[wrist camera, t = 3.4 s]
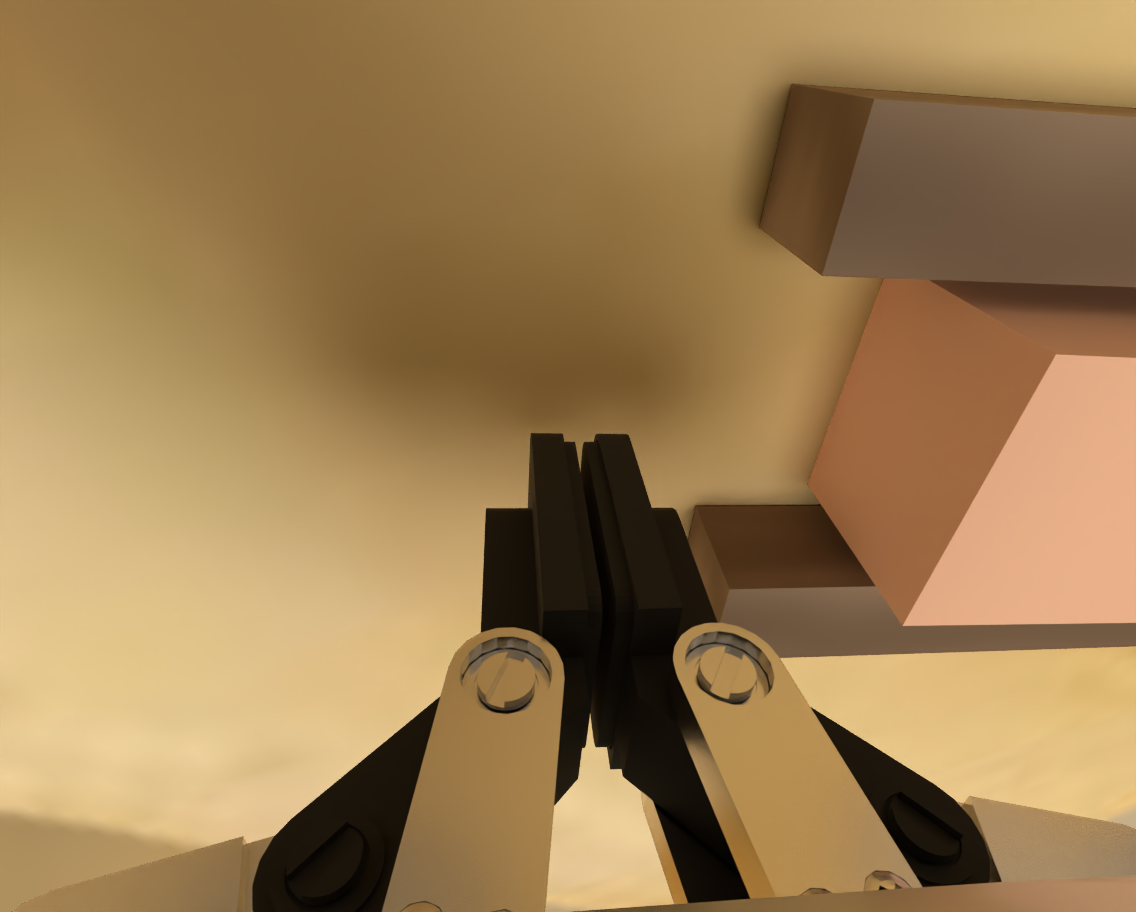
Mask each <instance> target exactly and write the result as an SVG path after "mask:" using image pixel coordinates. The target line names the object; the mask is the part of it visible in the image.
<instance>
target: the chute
mask: <svg viewBox="0 0 1136 912" xmlns="http://www.w3.org/2000/svg"><path fill="white" fill-rule="evenodd" d="M759 228H760V229H762V230H763V231H764V232H766V233H767V234H768V235H770V236H771V237H772V238H773V239H775V240H776V241H777V242H779V243H780V244H781V245H783V246H784V247H785V248H787V249H788V250H789V251H790V252H792V253H793V254H794V255H796V256H797V257H798V258H800V259H801V260H802V261H803V262H805V263H806V264H807V265H809V266H810V267H811V268H813V269H814V270H815V271H817V272H818V273H819V274H820V275H822V276H842V277H869V278H897V279H924V280H951V281H979V282H1006V283H1034V284H1061V285H1088V286H1116V287H1136V108H1124V107H1110V106H1096V105H1082V104H1068V103H1054V102H1040V101H1026V100H1011V99H997V98H983V97H969V96H955V95H941V94H927V93H913V92H899V91H884V90H870V89H856V88H842V87H828V86H814V85H800V84H792V87H791V91H790V95H789V100H788V104H787V109H786V113H785V117H784V122H783V126H782V130H781V135H780V139H779V144H778V148H777V152H776V157H775V161H774V166H773V170H772V174H771V179H770V183H769V187H768V192H767V196H766V201H765V205H764V209H763V214H762V218H761V223H760V227H759ZM688 543H689V545H690V548H691V551H692V554H693V556H694V559H695V562H696V565H697V567H698V570H699V573H700V576H701V578H702V581H703V584H704V586H705V589H706V592H707V595H708V597H709V600H710V603H711V606H712V608H713V611H714V614H715V617H716V619H717V622H718V623H725V624H730V625H734V626H739V627H741V628H743V629H745V630H747V631H749V632H752V633H754V634H755V635H757V636H758V637H759V638H761V639H762V640H763V641H765V642H766V643H767V644H769V646H770V647H771V648H772V649H773V650H774V652H775V653H776V654H777V655H778V656H779V658H791V657H821V656H852V655H883V654H914V653H944V652H975V651H1006V650H1037V649H1067V648H1098V647H1129V646H1136V623H1084V624H1008V625H933V626H902V624H901V623H900V621H899V620H898V618H897V617H896V615H895V614H894V613H893V611H892V610H891V608H890V607H889V605H888V604H887V602H886V601H885V599H884V598H883V596H882V595H881V593H880V592H879V590H878V589H877V587H876V586H875V584H874V583H873V581H872V580H871V578H870V577H869V575H868V574H867V572H866V571H865V569H864V568H863V566H862V565H861V563H860V562H859V560H858V559H857V557H856V556H855V554H854V553H853V551H852V550H851V548H850V547H849V546H848V544H847V543H846V541H845V540H844V538H843V537H842V535H841V534H840V532H839V531H838V529H837V528H836V526H835V525H834V523H833V522H832V520H831V519H830V517H829V516H828V514H827V513H826V511H825V510H824V508H823V507H822V506H696V508H695V512H694V516H693V521H692V525H691V530H690V534H689V538H688Z"/></svg>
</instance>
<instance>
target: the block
mask: <svg viewBox="0 0 1136 912" xmlns="http://www.w3.org/2000/svg"><path fill="white" fill-rule="evenodd" d="M808 486H809V487H810V489H811V490H812V492H813V493H814V495H815V496H816V498H817V499H818V501H819V502H820V504H821V505H822V507H823V508H824V510H825V511H826V513H827V514H828V516H829V517H830V519H831V520H832V522H833V523H834V525H835V526H836V528H837V529H838V531H839V532H840V534H841V535H842V537H843V538H844V540H845V541H846V543H847V544H848V546H849V547H850V548H851V550H852V551H853V553H854V554H855V556H856V557H857V559H858V560H859V562H860V563H861V565H862V566H863V568H864V569H865V571H866V572H867V574H868V575H869V577H870V578H871V580H872V581H873V583H874V584H875V586H876V587H877V589H878V590H879V592H880V593H881V595H882V596H883V598H884V599H885V601H886V602H887V604H888V605H889V607H890V608H891V610H892V611H893V613H894V614H895V615H896V617H897V618H898V620H899V621H900V623H901V624H902V626H933V625H1008V624H1084V623H1136V287H1116V286H1088V285H1061V284H1034V283H1006V282H979V281H951V280H924V279H897V278H884V279H883V281H882V284H881V287H880V289H879V292H878V295H877V297H876V300H875V303H874V306H873V308H872V311H871V314H870V316H869V319H868V322H867V324H866V327H865V330H864V333H863V335H862V338H861V341H860V343H859V346H858V349H857V352H856V354H855V357H854V360H853V362H852V365H851V368H850V370H849V373H848V376H847V379H846V381H845V384H844V387H843V389H842V392H841V395H840V397H839V400H838V403H837V406H836V408H835V411H834V414H833V416H832V419H831V422H830V424H829V427H828V430H827V433H826V435H825V438H824V441H823V443H822V446H821V449H820V452H819V454H818V457H817V460H816V462H815V465H814V468H813V470H812V473H811V476H810V479H809V481H808Z"/></svg>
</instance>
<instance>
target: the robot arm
mask: <svg viewBox="0 0 1136 912" xmlns="http://www.w3.org/2000/svg"><path fill="white" fill-rule="evenodd" d="M590 714H591V722H592V730H593V738H594V743H595V746H596V747H607V750H608V757H609V764H610V769H622V774H623V777H624V778H626V779H627V780H628V781H629V782H631V783H632V784H633V785H634V786H635V787H637V788H638V789H639V790H640V791H641V798H642V804H643V810H644V813H645V816H646V819H647V822H648V825H649V828H650V831H651V834H652V837H653V840H654V843H655V846H656V850H657V853H658V856H659V859H660V862H661V865H662V868H663V871H664V874H665V877H666V880H667V883H668V886H669V889H670V892H671V895H672V898H673V902H674V904H672V905H658V906H645V907H631V908H617V909H603V910H589V911H575V912H1136V829H1134V828H1131V827H1129V826H1126V825H1123V824H1118V823H1113V822H1107V821H1102V820H1096V819H1091V818H1085V817H1080V816H1075V815H1069V814H1064V813H1058V812H1053V811H1047V810H1042V809H1037V808H1031V807H1026V806H1020V805H1015V804H1009V803H1004V802H998V801H993V800H988V799H982V798H977V797H971V796H969V797H968V799H967V800H966V801H965V802H964V803H959V802H956V801H955V800H954V799H953V798H952V797H950V796H949V795H948V794H946V793H945V792H944V791H942V790H941V789H940V788H939V787H937V786H936V785H934V784H933V783H931V782H930V781H928V780H926V779H925V778H923V777H922V776H920V775H918V774H917V773H915V772H914V771H912V770H910V769H909V768H907V767H906V766H904V765H902V764H901V763H899V762H898V761H896V760H894V759H893V758H891V757H890V756H888V755H886V754H885V753H883V752H882V751H880V750H878V749H877V748H875V747H874V746H872V745H870V744H869V743H867V742H866V741H864V740H862V739H861V738H859V737H858V736H856V735H854V734H853V733H851V732H850V731H848V730H846V729H845V728H843V727H842V726H840V725H839V724H837V723H835V722H834V721H832V720H831V719H829V718H827V717H826V716H824V715H823V714H821V713H819V712H818V711H816V710H815V709H813V708H811V707H810V706H809V704H808V703H807V701H806V699H805V698H804V696H803V695H802V693H801V691H800V690H799V688H798V687H797V685H796V683H795V682H794V680H793V679H792V677H791V675H790V674H789V672H788V671H787V669H786V667H785V666H784V664H783V663H782V661H781V659H780V658H779V656H778V655H777V654H776V653H775V652H774V650H773V649H772V648H771V647H770V646H769V644H767V643H766V642H765V641H763V640H762V639H761V638H759V637H758V636H757V635H755V634H754V633H752V632H749V631H747V630H745V629H743V628H741V627H739V626H734V625H730V624H725V623H718V622H717V619H716V617H715V614H714V611H713V608H712V606H711V603H710V600H709V597H708V595H707V592H706V589H705V586H704V584H703V581H702V578H701V576H700V573H699V570H698V567H697V565H696V562H695V559H694V556H693V554H692V551H691V548H690V545H689V543H688V540H687V537H686V535H685V532H684V529H683V526H682V524H681V521H680V518H679V516H678V514H677V512H676V510H675V509H673V508H651V504H650V501H649V498H648V495H647V492H646V488H645V485H644V482H643V479H642V476H641V473H640V469H639V466H638V463H637V460H636V457H635V453H634V450H633V447H632V444H631V441H630V438H629V435H627V434H596V435H595V439H594V442H584V444H583V450H582V461H581V472H580V468H579V462H578V456H577V450H576V445H575V442H564V438H563V434H553V433H531V438H530V463H529V493H528V508H486V522H485V546H484V570H483V594H482V618H481V633H479V634H478V635H476V636H474V637H472V638H471V639H469V640H467V641H466V642H465V643H464V644H463V645H462V646H461V647H460V648H459V649H458V650H457V651H456V653H455V654H454V656H453V659H452V661H451V663H450V665H449V667H448V671H447V674H446V678H445V682H444V685H443V689H442V693H441V696H440V697H439V698H438V699H437V700H435V701H434V702H433V703H432V704H430V705H429V706H428V707H427V708H426V709H424V710H423V711H422V712H421V713H420V714H418V715H417V716H416V717H415V718H413V719H412V720H411V721H410V722H409V723H407V724H406V725H405V726H404V727H403V728H401V729H400V730H399V731H398V732H396V733H395V734H394V735H393V736H392V737H390V738H389V739H388V740H387V741H386V742H384V743H383V744H382V745H381V746H379V747H378V748H377V749H376V750H375V751H373V752H372V753H371V754H370V755H368V756H367V757H366V758H365V759H364V760H362V761H361V762H360V763H359V764H358V765H356V766H355V767H354V768H353V769H351V770H350V771H349V772H348V773H347V774H345V775H344V776H343V777H342V778H341V779H339V780H338V781H337V782H336V783H334V784H333V785H332V786H331V787H330V788H328V789H327V790H326V791H325V792H324V793H322V794H321V795H320V796H319V797H317V798H316V799H315V800H314V801H313V802H311V803H310V804H309V805H308V806H307V807H305V808H304V809H303V810H302V811H300V812H299V813H298V814H297V815H296V816H294V817H293V818H292V819H291V820H290V821H289V822H288V823H287V824H286V825H285V826H284V827H283V828H282V829H281V830H280V831H279V832H278V833H277V834H276V835H275V836H272V837H269V838H265V839H262V840H258V841H255V842H251V843H248V844H247V843H246V841H245V839H244V837H239V838H235V839H232V840H228V841H225V842H221V843H218V844H214V845H211V846H207V847H204V848H200V849H197V850H193V851H190V852H186V853H182V854H179V855H175V856H172V857H168V858H165V859H161V860H158V861H154V862H151V863H147V864H144V865H140V866H137V867H133V868H129V869H126V870H122V871H119V872H115V873H112V874H108V875H105V876H101V877H98V878H94V879H91V880H87V881H83V882H80V883H76V884H73V885H69V886H66V887H62V888H59V889H55V890H52V891H49V892H47V893H45V894H43V895H40V896H38V897H36V898H34V899H31V900H29V901H27V902H24V903H22V904H21V905H20V906H18V907H17V908H16V909H14V910H13V911H12V912H545V908H546V896H547V884H548V872H549V860H550V848H551V836H552V824H553V812H554V805H555V804H556V803H557V802H558V801H559V800H560V799H561V797H562V796H563V795H564V794H565V793H566V792H567V791H568V789H569V788H570V787H571V786H572V785H573V784H574V782H575V781H576V780H577V779H578V775H579V767H580V759H581V752H582V748H585V746H586V739H587V732H588V724H589V717H590Z"/></svg>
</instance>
